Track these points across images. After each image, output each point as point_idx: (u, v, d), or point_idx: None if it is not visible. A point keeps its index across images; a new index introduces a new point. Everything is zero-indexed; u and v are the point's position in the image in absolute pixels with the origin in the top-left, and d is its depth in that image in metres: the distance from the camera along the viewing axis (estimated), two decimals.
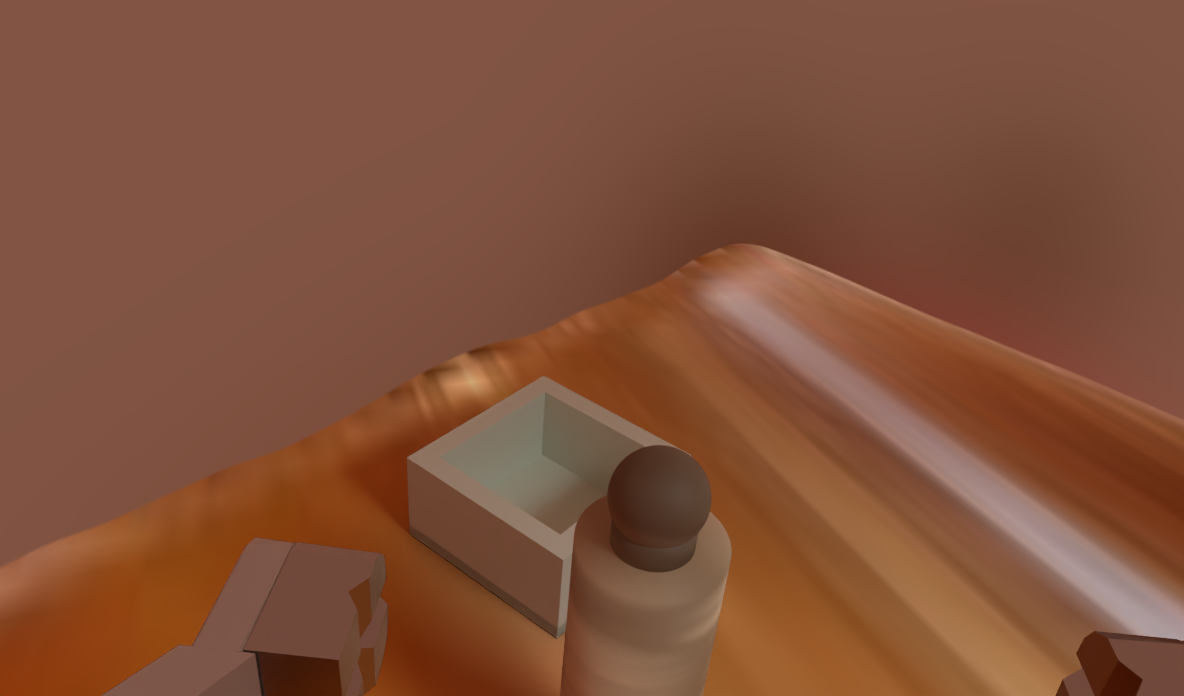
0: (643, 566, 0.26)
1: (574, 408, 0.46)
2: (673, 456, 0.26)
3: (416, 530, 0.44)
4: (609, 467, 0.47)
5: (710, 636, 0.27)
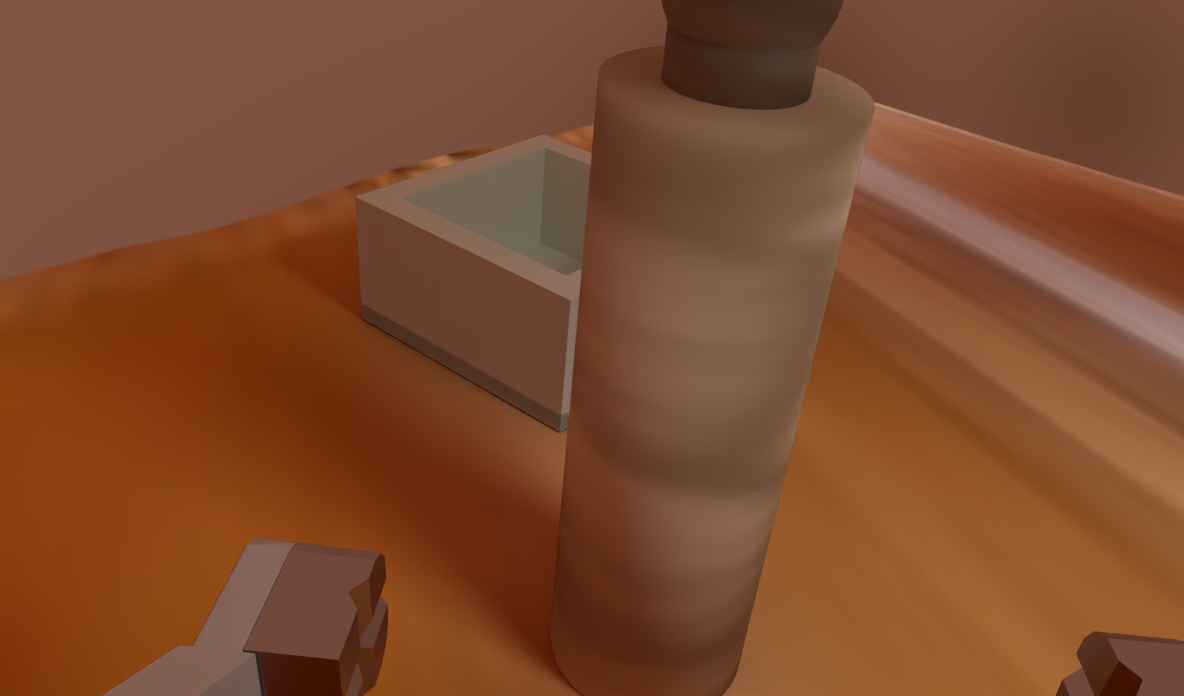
0: (725, 96, 0.15)
1: (584, 164, 0.35)
2: None
3: (369, 311, 0.33)
4: None
5: (832, 259, 0.16)
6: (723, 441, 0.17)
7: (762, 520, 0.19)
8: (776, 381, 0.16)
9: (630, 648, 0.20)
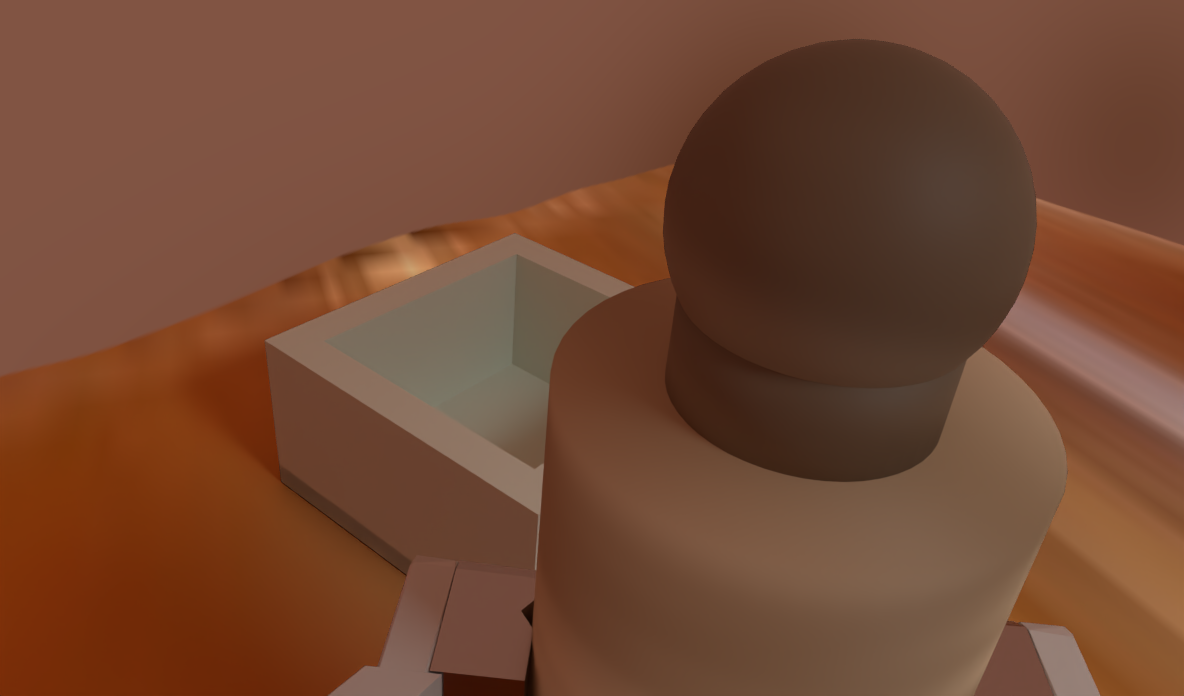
0: (791, 459, 0.07)
1: (564, 277, 0.28)
2: (913, 50, 0.07)
3: (290, 475, 0.26)
4: None
5: (973, 695, 0.09)
6: None
7: None
8: None
9: None
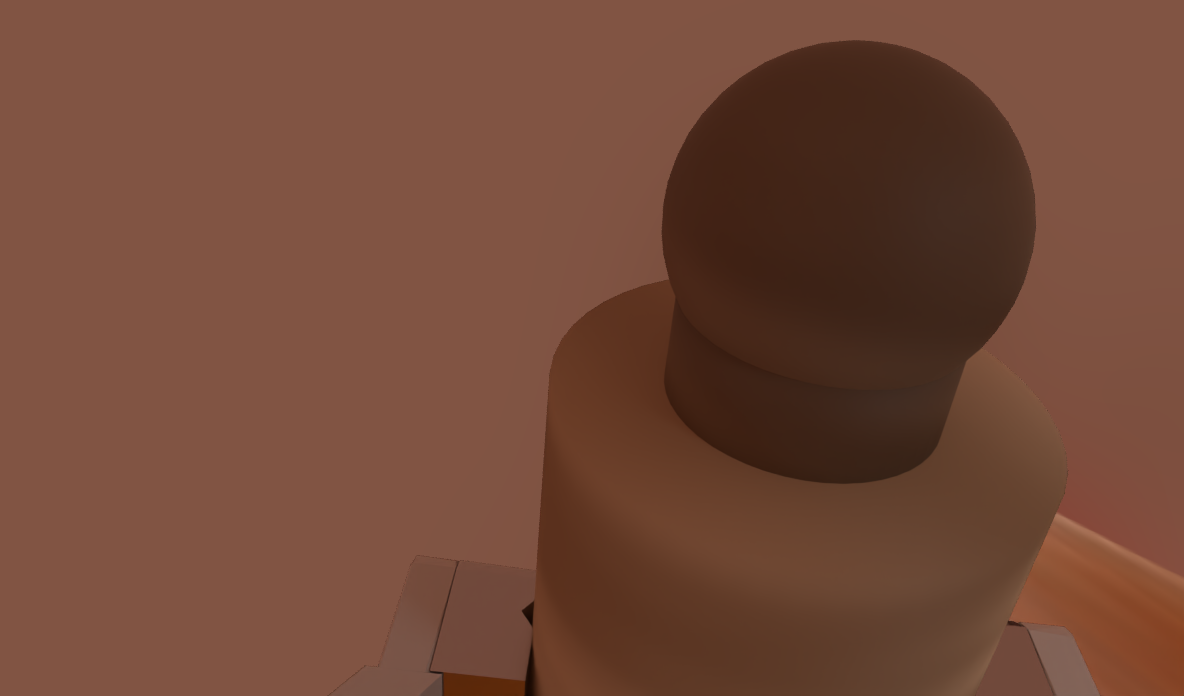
0: (790, 461, 0.07)
1: None
2: (911, 51, 0.07)
3: None
4: None
5: None
6: None
7: None
8: None
9: None
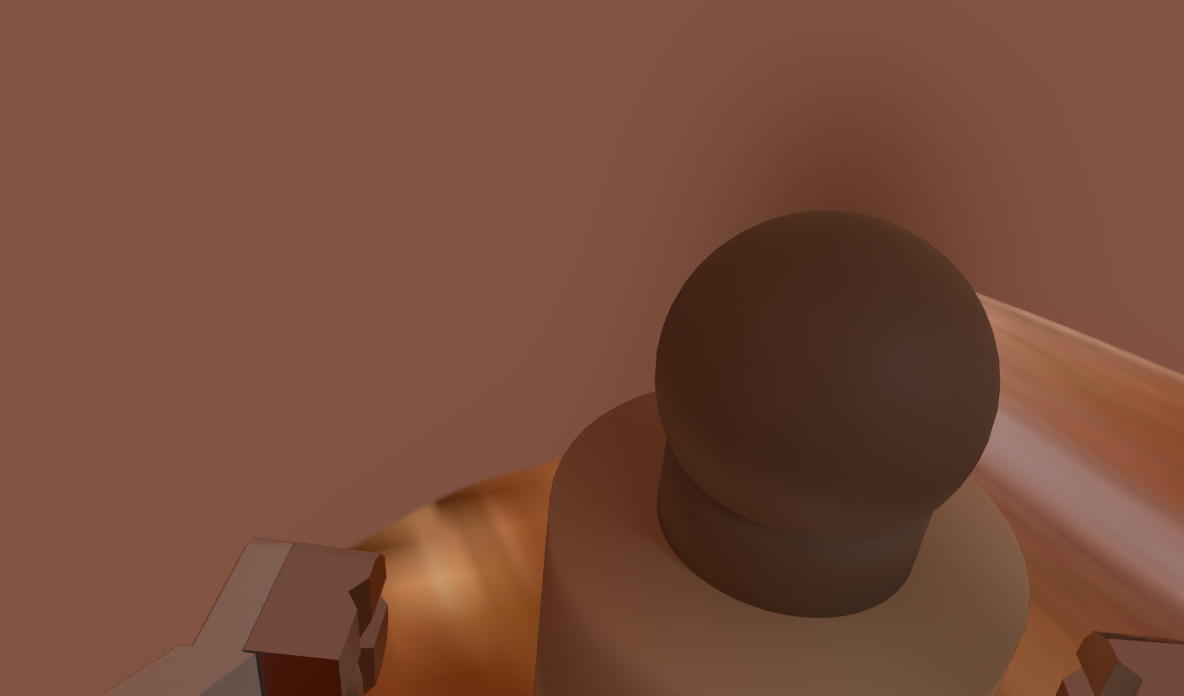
0: (772, 598, 0.08)
1: None
2: (886, 230, 0.08)
3: None
4: None
5: None
6: None
7: None
8: None
9: None
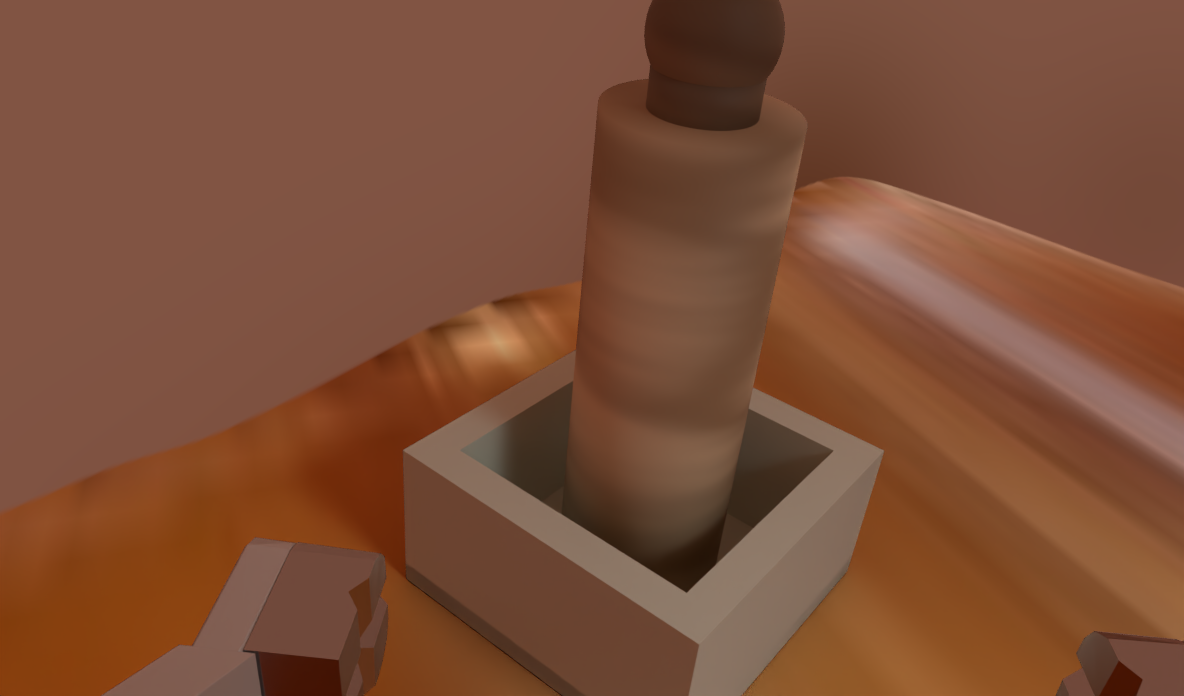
0: (693, 120, 0.19)
1: None
2: None
3: (417, 574, 0.26)
4: None
5: (777, 243, 0.21)
6: (695, 385, 0.22)
7: (728, 453, 0.23)
8: (735, 339, 0.21)
9: None
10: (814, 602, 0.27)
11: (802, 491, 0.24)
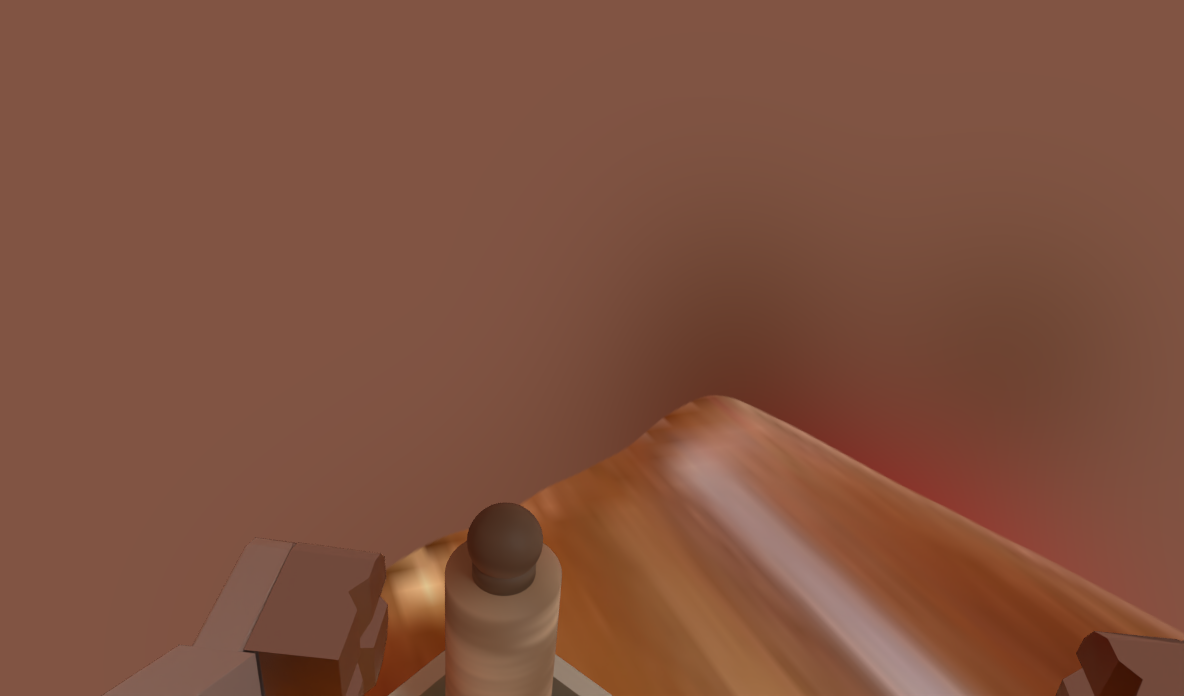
0: (492, 591, 0.36)
1: None
2: (512, 512, 0.35)
3: None
4: None
5: (547, 642, 0.37)
6: None
7: None
8: (527, 690, 0.38)
9: None
10: None
11: None
